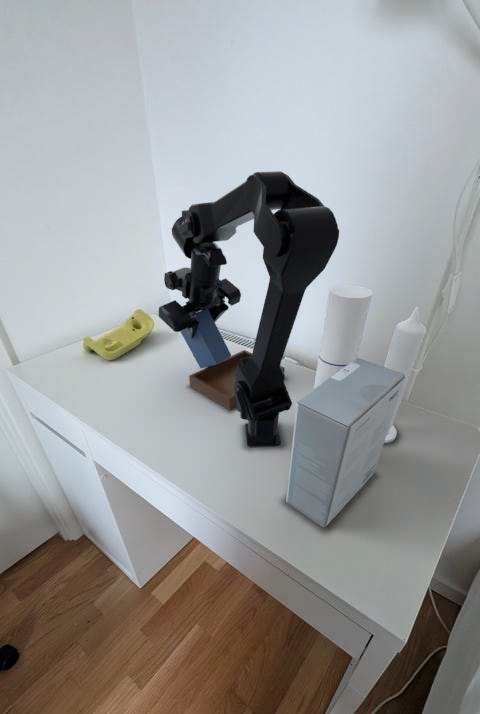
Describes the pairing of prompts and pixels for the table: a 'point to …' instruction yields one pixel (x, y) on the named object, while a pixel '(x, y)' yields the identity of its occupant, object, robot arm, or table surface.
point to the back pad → (206, 341)
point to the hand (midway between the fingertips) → (198, 333)
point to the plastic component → (121, 337)
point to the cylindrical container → (342, 329)
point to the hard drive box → (340, 437)
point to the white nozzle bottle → (404, 356)
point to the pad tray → (219, 380)
